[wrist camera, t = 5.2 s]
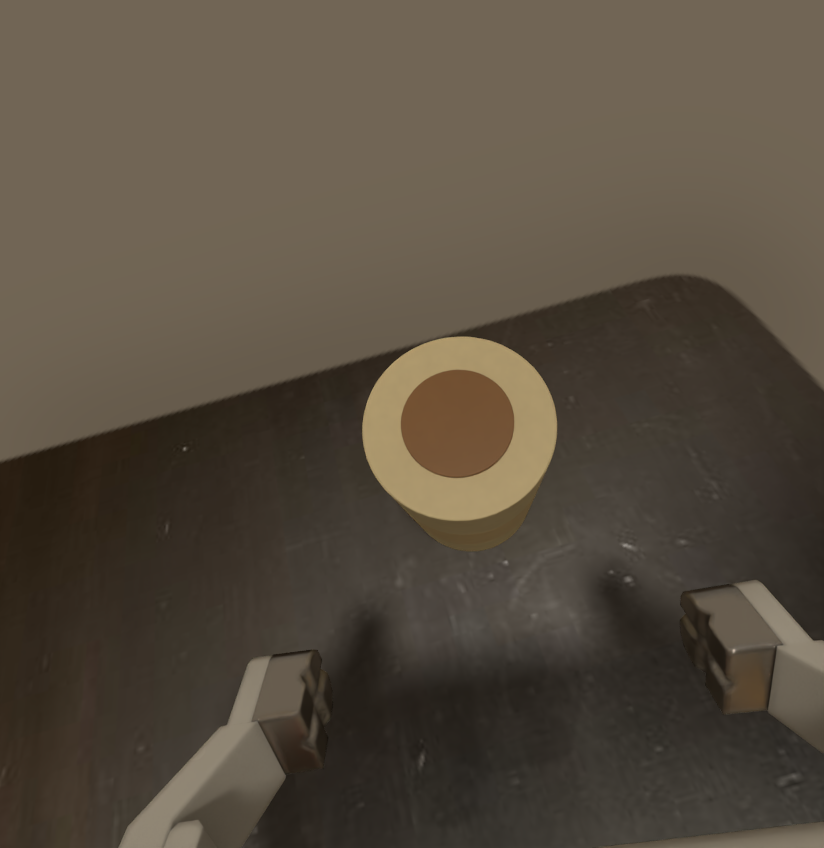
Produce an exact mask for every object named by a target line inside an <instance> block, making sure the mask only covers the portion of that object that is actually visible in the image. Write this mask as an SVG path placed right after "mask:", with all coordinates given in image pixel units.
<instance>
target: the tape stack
mask: <svg viewBox="0 0 824 848" xmlns="http://www.w3.org/2000/svg"><path fill="white" fill-rule="evenodd" d="M362 437H363V445H364V450H365V454H366V458H367V461H368V463H369V465H370V468H371V470H372V472H373V473H374V475H375V477H376V479H377V480H378V482H379V483H380V484H381V485H382V487H383V488H384V489H385V490H386V491H387V492H388V493H389V495H390V496H391V497H392V498H393V499H394V500H395V501H396V502H397V503H398V504H399V505H400V506H401V507H402V508H403V509H404V510H405V511H406V512H407V513H408V514H409V515H410V516H411V517H412V518H413V519H414V520H415V521H416V522H417V523H418V524H419V525H420V526H421V527H422V528H423V529H424V530H425V531H426V532H427V533H428V534H429V535H430V536H431V537H432V538H433V539H435V540H436V541H437V542H439V543H441V544H443V545H445V546H447V547H450V548H452V549H456V550H460V551H481V550H486V549H490V548H493V547H495V546H497V545H499V544H501V543H503V542H504V541H506V540H507V539H509V538H510V537H511V536H512V535H513V534H514V533H515V532H516V531H517V530H518V529H519V528H520V526H521V524H522V523H523V521H524V519H525V517H526V515H527V513H528V511H529V509H530V506H531V504H532V502H533V500H534V497H535V495H536V493H537V491H538V488H539V486H540V484H541V482H542V479H543V477H544V475H545V473H546V470H547V468H548V466H549V464H550V461H551V459H552V456H553V453H554V449H555V445H556V439H557V417H556V410H555V406H554V402H553V399H552V396H551V394H550V392H549V389H548V387H547V386H546V384H545V382H544V381H543V379H542V377H541V376H540V375H539V373H538V372H537V371H536V370H535V368H534V367H533V366H532V365H530V364H529V363H528V362H527V361H526V360H525V359H524V358H523V357H521V356H520V355H518V354H517V353H516V352H514V351H512V350H510V349H509V348H507V347H505V346H503V345H500V344H498V343H495V342H492V341H489V340H485V339H480V338H474V337H449V338H443V339H438V340H434V341H431V342H428V343H425V344H422V345H420V346H418V347H416V348H414V349H412V350H410V351H409V352H407V353H405V354H404V355H402V356H401V357H400V358H398V359H397V360H396V361H395V362H393V363H392V364H391V365H390V367H389V368H388V369H387V370H386V371H385V372H384V373H383V374H382V376H381V377H380V378H379V380H378V381H377V383H376V384H375V386H374V388H373V390H372V392H371V394H370V396H369V399H368V401H367V404H366V408H365V411H364V417H363V424H362Z"/></svg>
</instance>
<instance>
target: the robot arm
mask: <svg viewBox="0 0 824 848" xmlns="http://www.w3.org/2000/svg"><path fill="white" fill-rule="evenodd" d="M680 605H681V607H682V608H683V610H684V612H685V613H686V614H685V615H684V616H683V617H682V618H681V620H680V633H681V637H682V641H683V645H684V647H685V649H686V652H687V654H688V656H689V658H690V660H691V661H692V663H693V665H694V666H695V667H697V668H698V669H700V670H701V671H703V672H705V673H706V679H705V685H706V687H707V689H708V690H709V692H710V694H711V695H712V697H713V699H714V700H715V702H716V704H717V705H718V707H719V709H720V710H721V712H722V714H723V715H726V714H735V713H745V712H754V711H764V710H768V713H769V714H771V715H772V716H773V717H775V718H776V719H777V720H779V721H780V722H781V723H783V724H784V725H785V726H787V727H788V728H789V729H791V730H792V731H793V732H795V733H796V734H797V735H799V736H800V737H801V738H803V739H804V740H805V741H807V742H808V743H809V744H811V745H812V746H813V747H815V748H816V749H817V750H819V751H820V752H822V753H823V754H824V641H822V640H817V641H813V640H812V639H811V638H810V636H809V635H808V634H807V633H806V632H805V631H804V630H803V629H802V627H801V626H800V625H799V624H798V623H797V622H796V621H795V620H794V618H793V617H792V616H791V615H790V614H789V613H788V612H787V611H786V610H785V608H784V607H783V606H782V605H781V604H780V603H779V602H778V601H777V599H776V598H775V597H774V596H773V595H772V594H771V593H770V592H769V590H768V589H767V588H766V587H765V586H764V585H763V584H762V583H761V582H759V581H757V580H752V581H746V582H739V583H733V584H726V585H720V586H714V587H708V588H702V589H696V590H690V591H684V592H683V593H682V595H681V600H680ZM321 664H322V658H321V656H320V654H319V652H318V650H306V651H298V652H290V653H282V654H274V655H269V656H262V657H254V658H252V659H251V661H250V662H249V663H248V665H247V668H246V671H245V673H244V676H243V679H242V682H241V685H240V688H239V691H238V694H237V697H236V700H235V703H234V706H233V709H232V712H231V715H230V718H229V720H228V723H227V725H226V726H220V728H219V729H218V730H217V731H216V732H215V733H214V734H213V735H212V736H211V737H210V738H209V739H208V741H207V742H206V743H205V744H204V745H203V746H202V747H201V748H200V749H199V750H198V751H197V752H196V753H195V755H194V756H193V757H192V758H191V759H190V760H189V761H188V762H187V763H186V764H185V765H184V766H183V768H182V769H181V770H180V771H179V772H178V773H177V774H176V775H175V776H174V777H173V778H172V779H171V780H170V782H169V783H168V784H167V785H166V786H165V787H164V788H163V789H162V790H161V791H160V792H159V793H158V795H157V796H156V797H155V798H154V799H153V800H152V801H151V802H150V803H149V804H148V805H147V806H146V807H145V809H144V810H143V811H142V812H141V813H140V814H139V815H138V816H137V817H136V818H135V819H134V820H133V822H132V823H131V824H130V825H129V826H128V827H127V830H126V832H125V834H124V836H123V839H122V841H121V843H120V845H119V848H242V846H243V845H244V843H245V841H246V840H247V838H248V837H249V835H250V834H251V832H252V830H253V829H254V827H255V826H256V824H257V823H258V821H259V819H260V818H261V816H262V815H263V813H264V811H265V810H266V808H267V807H268V805H269V804H270V802H271V800H272V799H273V797H274V796H275V794H276V793H277V791H278V789H279V788H280V786H281V785H282V783H283V782H284V780H285V778H286V775H287V774H293V773H299V772H305V771H311V770H317V769H323V768H324V763H325V757H326V750H327V744H328V735H327V733H326V731H325V728H324V727H325V725H326V724H327V723H328V721H329V720H330V719H331V716H332V709H333V690H332V685H331V681H330V678H329V675H328V673H327V672H325V671H323V670H322V669H321ZM595 848H824V821H821V822H813V823H804V824H795V825H787V826H778V827H769V828H761V829H752V830H743V831H735V832H726V833H717V834H709V835H700V836H691V837H682V838H674V839H665V840H656V841H648V842H639V843H630V844H621V845H613V846H604V847H595Z"/></svg>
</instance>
